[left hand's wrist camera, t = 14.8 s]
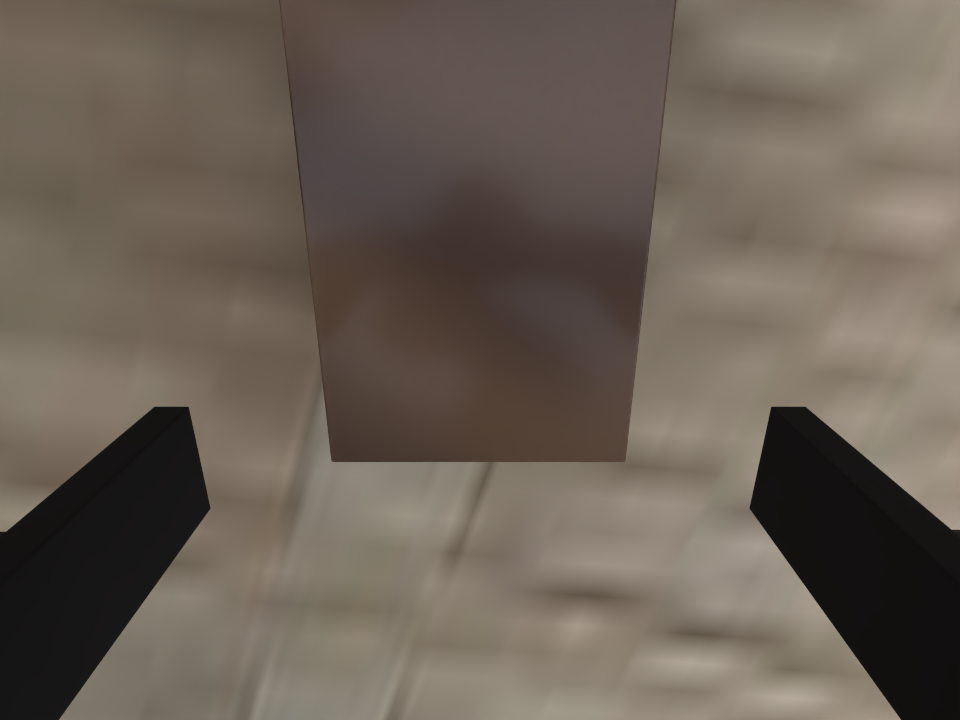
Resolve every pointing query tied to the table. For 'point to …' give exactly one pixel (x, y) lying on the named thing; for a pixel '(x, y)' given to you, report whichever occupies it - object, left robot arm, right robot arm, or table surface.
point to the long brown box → (478, 219)
